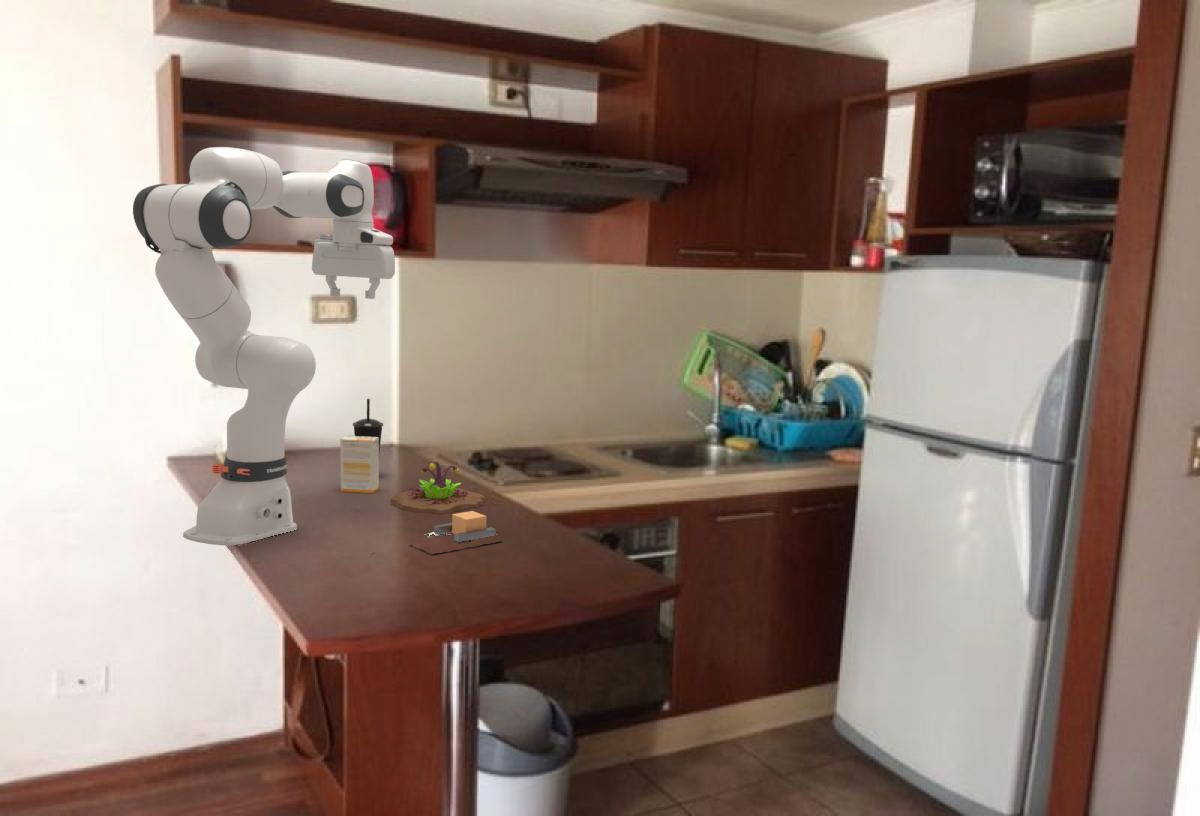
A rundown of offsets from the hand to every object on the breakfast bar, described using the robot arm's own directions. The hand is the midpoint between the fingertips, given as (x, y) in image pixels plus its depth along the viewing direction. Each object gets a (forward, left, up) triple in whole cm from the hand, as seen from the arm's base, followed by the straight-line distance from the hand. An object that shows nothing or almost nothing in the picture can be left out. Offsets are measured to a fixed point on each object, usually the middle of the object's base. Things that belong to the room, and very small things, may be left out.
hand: (352, 297), depth 226 cm
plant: (+4, -20, -48) cm, 52 cm away
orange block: (-17, -38, -46) cm, 62 cm away
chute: (-24, -34, -47) cm, 63 cm away
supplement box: (+9, +3, -47) cm, 48 cm away
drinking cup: (+24, +10, -47) cm, 54 cm away
